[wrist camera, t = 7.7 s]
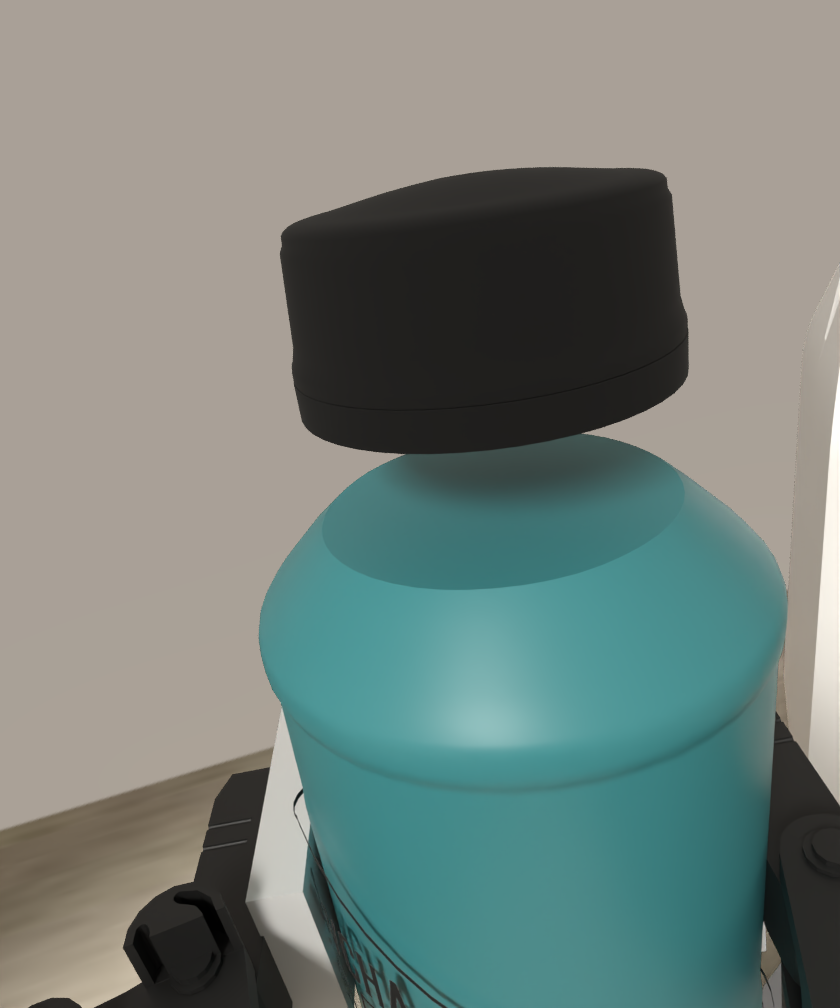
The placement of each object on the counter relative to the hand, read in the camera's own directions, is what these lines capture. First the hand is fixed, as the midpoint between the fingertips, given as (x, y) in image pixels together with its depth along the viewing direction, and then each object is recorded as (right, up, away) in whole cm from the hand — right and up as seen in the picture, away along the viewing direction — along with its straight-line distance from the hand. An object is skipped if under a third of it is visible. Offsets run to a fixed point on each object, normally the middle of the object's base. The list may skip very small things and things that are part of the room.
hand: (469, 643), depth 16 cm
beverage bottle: (+2, -12, 0) cm, 12 cm away
